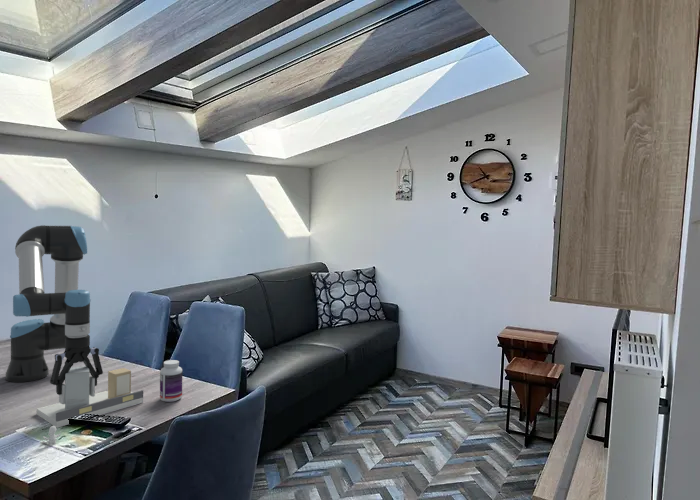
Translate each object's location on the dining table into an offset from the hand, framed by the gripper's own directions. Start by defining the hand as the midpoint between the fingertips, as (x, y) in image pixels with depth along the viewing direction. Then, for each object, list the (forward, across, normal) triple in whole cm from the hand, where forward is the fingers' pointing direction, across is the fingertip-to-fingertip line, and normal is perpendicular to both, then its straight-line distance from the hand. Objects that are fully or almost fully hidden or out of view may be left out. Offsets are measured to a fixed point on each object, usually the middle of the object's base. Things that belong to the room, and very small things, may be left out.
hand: (77, 399), depth 172 cm
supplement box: (+2, 0, 0) cm, 2 cm away
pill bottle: (+6, +30, -10) cm, 32 cm away
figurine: (+6, -15, -17) cm, 23 cm away
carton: (+3, +15, 0) cm, 15 cm away
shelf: (+5, +6, +2) cm, 8 cm away
